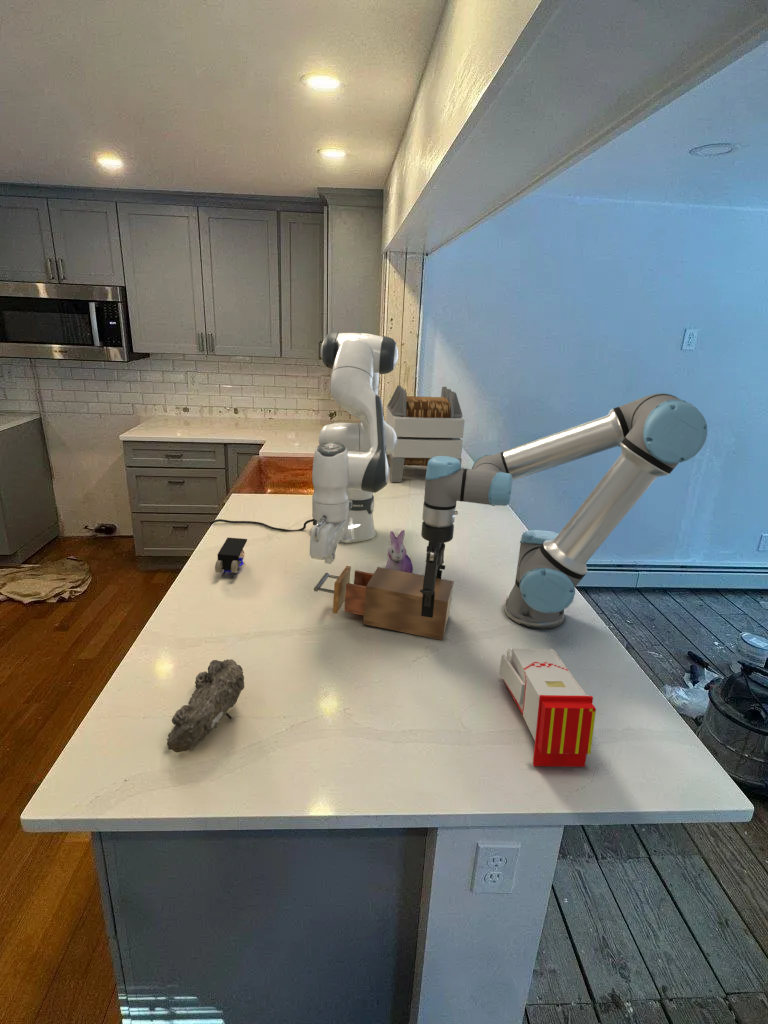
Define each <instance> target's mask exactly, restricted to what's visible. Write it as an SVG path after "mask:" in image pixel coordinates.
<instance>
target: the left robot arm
mask: <svg viewBox="0 0 768 1024" xmlns="http://www.w3.org/2000/svg"><path fill="white" fill-rule="evenodd" d="M320 356H321V359H322V364H324V366H325V367H326V368H327V369H330V370H331V377H330V390H329V391H330V394H331V397H332V399H333V401H334V402H335V403H336V404H337V405H338V406H339V407H340V408H342V409H343V410H344V411H346V412H347V413H348V414H349V415H351V416H352V417H355V418H357V419H358V420H359V421H360V422H333V423H328V424H325V425H323V427H321V429H320V431H319V434H318V445H317V446H316V447H315V450H314V454H313V461H312V473H311V481H312V486H313V493H312V495H311V496H312V498H311V505H312V506H311V516H312V518H311V519H308V520H306V521H305V522H304V523H303V527H301V528H299V529H288V528H281V527H274V526H271V525H268V524H267V523H264V522H260V521H253V520H229V519H222V518H221V519H220V518H218V519H214V520H212V521H211V522H210V523H209V525H214V524H215V523H220V522H221V523H228V524H253V525H260V526H263V527H265V528H268V529H270V530H272V531H273V530H274V531H278V532H279V531H280V532H286V533H287V532H302V531H304V530H306V528H307V525H308V524H309V523H312V528H311V530H310V540H309V556H310V558H311V559H312V560H319V561H324V563H325V565H326V564H327V565H331V564H332V563H333V562H334V561H335V559H336V552H337V547H338V544H339V543H343V544H352V543H357V542H365V541H368V540H372V539H373V538H375V537H376V535H377V532H376V528H375V523H374V513H373V512H374V509H375V496H374V494H376V493H378V492H380V491H381V490H383V489H384V488H385V487H387V485H388V482H389V480H390V478H389V475H390V467H389V465H388V460H387V456H386V455H388V454H391V453H392V452H393V451H394V449H395V447H396V444H397V435H396V432H395V430H394V429H393V428H392V427H391V426H390V425H389V424H387V423H386V420H385V414H384V406H383V401H382V398H381V396H380V395H379V388H380V386H379V385H380V375H386V374H390V373H392V372H393V371H394V369H395V367H396V365H397V363H398V359H399V349H398V346H397V342H396V341H395V339H394V338H391V337H389V336H386V335H377V334H371V333H365V332H360V333H359V332H339V331H333V332H328V333H327V334H326V335H325V336H324V338H323V341H322V343H321V347H320Z"/></svg>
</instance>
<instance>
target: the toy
mask: <svg viewBox="0 0 768 1024" xmlns="http://www.w3.org/2000/svg"><path fill="white" fill-rule="evenodd" d="M499 675H500V676H501V678H502V681H503V682H504V684H505V687H506V688H507V689H508V692H509V694H510V696H511V697H512V699H513V701H514V703H515V704H516V706H517V708H518V710H519V711H520V713H521V715H522V717H523V719H524V721H525V723H526V725H527V728H528V730H529V732H530V734H531V736H532V738H533V740H534V749H533V757H532V758H533V759H532V766H533V767H558V768H559V767H561V768H562V767H566V768H567V767H569V768H572V767H573V768H579V767H581V768H585V767H586V760H587V755H591V754H592V753H591V752H592V744H593V735H594V730H595V729H594V728H595V720H596V712H597V708H596V707H595V705H594V703H593V702H594V697H593V695H587V694H586V693H585V691H584V690H583V689H582V687H581V685H580V684H579V683H578V682H577V680H576V679H575V678H574V676H573V675H572V673H571V671H569V669H568V668H567V666H566V665H565V663H564V662H563V661H562V659H561V658H560V656H559V654H557V652H556V651H555V650H554V649H553V648H511V649H509V648H508V649H506V655H505V654H501V659H500V666H499Z"/></svg>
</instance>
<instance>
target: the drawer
mask: <svg viewBox="0 0 768 1024" xmlns="http://www.w3.org/2000/svg"><path fill="white" fill-rule="evenodd" d="M351 569H352V566H351V565H350V566H349V565H346V566H345V567H344V568H343V570H342V572H341V573H340V575H334V574H330V573H329V572H325V573H324V574H323V576H322V577H321V578H320V580H319V581H318V582H317V583H316V585H315V586H314V587H313V591H314V592H315V593H316V592H318V591H319V592H324V593H330V594H333V599H332V613H333V614H338V613H339V611H340V610H341V608H342V606H343V605H344V608H343V609H344V611H343V612H345V613H350V614H353V615H354V614H355V615H359V616H364V607H365V595H366V586H367V584H368V582H369V581H370V579H371V577H372V576H373V574H374V572H373V573H372V572H368V571H361V570H354V574H353V575H354V576H353V577H354V578H353V583H351ZM329 578H330V579H335V581H334V587H333V589H329V588H326V587H325V588H324V587H322V586H323V585H324V584H325V582H326V581H327V580H328V579H329Z"/></svg>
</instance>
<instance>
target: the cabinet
mask: <svg viewBox="0 0 768 1024" xmlns="http://www.w3.org/2000/svg"><path fill="white" fill-rule="evenodd" d="M424 575H425V574H418V573H414V572H412V573H408V572H402V571H397V570H392V569H386V567H381V566H377V567H376V569H375V571H374V572H373V576H372V577H371V579H370V581H369V582H368V584H367V586H366V595H365V607H364V615H363V619H362V620H363V621H362V625H367V626H371V627H377V628H381V629H386V630H390V631H396V632H401V633H406V634H410V635H414V636H420V637H425V638H428V639H434V640H439V641H443V640H444V637H445V632H446V630H447V624H448V621H449V617H450V610H451V604H452V598H453V590H454V583H455V581H454V580H451V579H446V578H445V579H444V578H441V579H440V578H436V583H435V589H434V591H435V598H434V609H433V617H432V618H431V617H425V616H421V611H422V600H423V594H422V593H421V592H420V589H421V590H423V582H424Z"/></svg>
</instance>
